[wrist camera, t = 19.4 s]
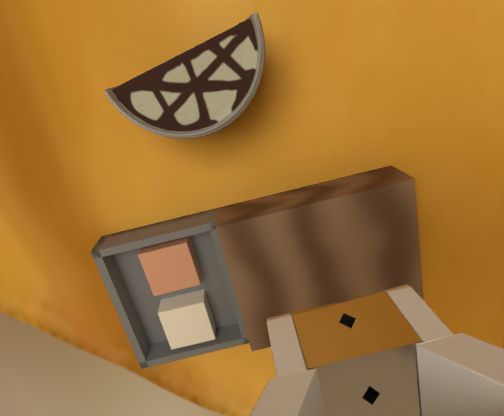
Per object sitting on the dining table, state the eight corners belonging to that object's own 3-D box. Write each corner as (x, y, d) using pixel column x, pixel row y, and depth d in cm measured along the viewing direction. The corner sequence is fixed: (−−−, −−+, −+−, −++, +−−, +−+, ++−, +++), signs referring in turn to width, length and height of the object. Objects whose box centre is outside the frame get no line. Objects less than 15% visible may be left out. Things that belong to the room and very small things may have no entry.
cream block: (157, 313, 40) (161, 299, 42) (171, 349, 42) (173, 334, 44) (203, 302, 40) (204, 289, 42) (215, 339, 42) (215, 324, 44)
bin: (216, 208, 40) (216, 221, 37) (248, 321, 45) (250, 342, 42) (101, 236, 40) (90, 252, 37) (147, 346, 45) (141, 368, 42)
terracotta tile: (137, 254, 37) (142, 243, 40) (153, 296, 39) (157, 283, 42) (186, 242, 37) (188, 232, 40) (200, 284, 39) (201, 272, 41)
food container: (163, 145, 37) (144, 172, 28) (129, 86, 35) (96, 93, 26) (276, 89, 36) (296, 97, 27) (249, 24, 34) (260, 9, 25)
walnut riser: (391, 165, 40) (414, 178, 35) (402, 284, 45) (423, 309, 41) (216, 208, 40) (216, 227, 35) (248, 321, 45) (251, 351, 41)
